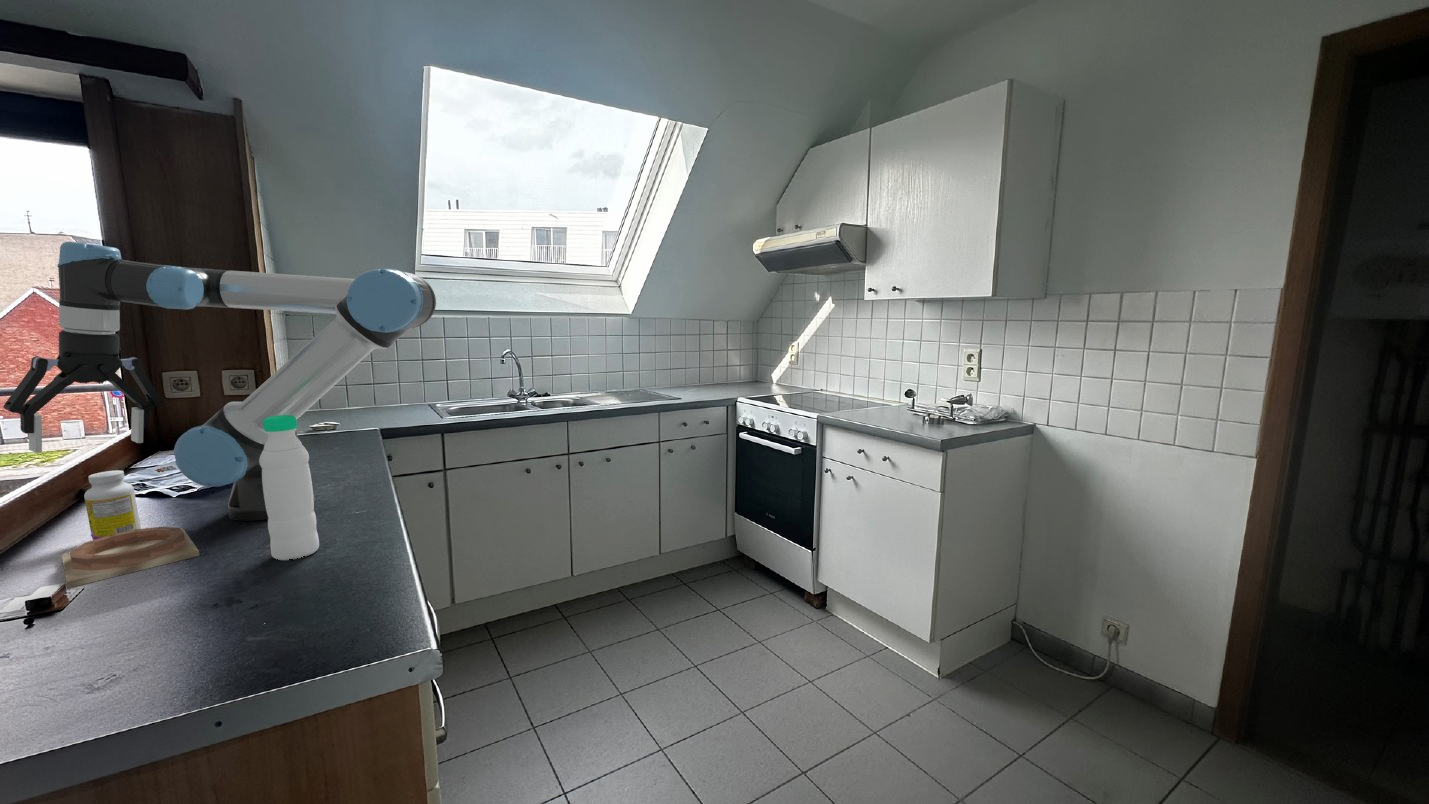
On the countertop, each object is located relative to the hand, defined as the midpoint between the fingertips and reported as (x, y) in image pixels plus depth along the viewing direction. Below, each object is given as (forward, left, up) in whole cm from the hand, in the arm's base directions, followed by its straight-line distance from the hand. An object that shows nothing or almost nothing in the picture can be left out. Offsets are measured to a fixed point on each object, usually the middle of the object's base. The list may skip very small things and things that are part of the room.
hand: (89, 446), depth 109 cm
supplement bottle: (-1, -1, -19) cm, 19 cm away
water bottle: (-36, +18, -19) cm, 45 cm away
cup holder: (-9, +11, -18) cm, 23 cm away
